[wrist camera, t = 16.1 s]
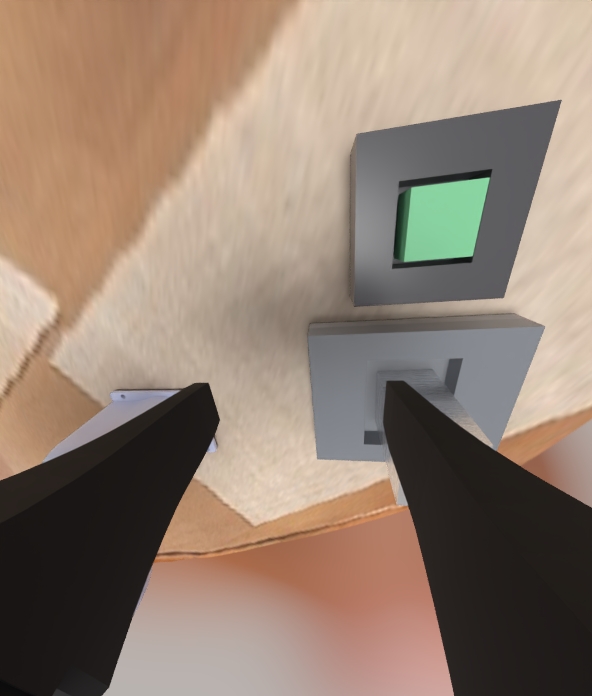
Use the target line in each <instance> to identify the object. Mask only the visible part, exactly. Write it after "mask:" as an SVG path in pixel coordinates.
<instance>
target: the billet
mask: <svg viewBox="0 0 592 696" xmlns="http://www.w3.org/2000/svg"><path fill="white" fill-rule="evenodd" d="M386 381H405V382H406V383H407V384H409V385H410V386H411V387H412V388H413V389H415V390H416V391H417V392H418V393H419V394H421V395H422V396H423V397H424V398H425V399H427V400H428V401H429V402H430V403H431V404H433V405H434V406H435V407H436V408H438V409H439V410H440V411H441V412H443V413H444V414H445V415H446V416H448V417H449V418H450V419H452V420H453V421H454V422H456V423H457V424H458V425H460V426H461V427H462V428H464V429H465V430H466V431H468V432H469V433H471V434H472V435H473V436H475V437H476V438H478V439H479V440H480V441H482V442H483V443H485V444H486V445H488V446H489V447H491V448H493V444H492V443H491V442H490V440H489V439H488V438H487V437H486V435H485V434H484V433H483V432H482V430H481V429H480V428H479V427H478V425H477V424H476V423H475V422H474V420H473V419H472V418H471V417H470V415H469V414H468V413H467V411H466V410H465V409H464V408H463V406H462V405H461V404H460V403H459V401H458V400H457V399H456V398H455V396H454V395H453V394H452V393H451V391H450V390H449V389H448V388H447V386H446V385H445V384H444V383H443V381H442V380H441V379H440V378H439V376H438V375H437V374H436V373H435V371H434V370H433V369H418V370H389V371H377V378H376V403H375V423H376V427H377V431H378V435H379V439H380V442H381V446H382V450H383V454H384V458H385V462H386V465H387V469H388V473H389V477H390V481H391V485H392V488H393V492H394V496H395V500H396V504H397V505H404V506H408V504H407V501H406V498H405V495H404V492H403V489H402V486H401V483H400V481H399V478H398V475H397V472H396V469H395V466H394V463H393V460H392V457H391V454H390V451H389V448H388V444H387V440H386V435H385V430H384V426H383V414H384V403H385V392H386Z"/></svg>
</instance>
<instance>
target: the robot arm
mask: <svg viewBox="0 0 592 696" xmlns="http://www.w3.org/2000/svg"><path fill="white" fill-rule="evenodd" d="M110 397H111V399H112V401H113V402H112V403H110V404H109V405H108V406H107V407H105V408H104V409H103V410H101V411H100V412H99V413H98V414H96V415H95V416H94V417H92V418H91V419H90V420H89V421H87V422H86V423H85V424H83V425H82V426H81V427H80V428H78V429H77V430H76V431H74V432H73V433H72V434H70V435H69V436H68V437H67V438H65V439H64V440H63V441H61V442H60V443H59V444H58V445H57V446H56V447H54V448H53V449H52V450H51V451H50V453H49V454H48V455H47V456H46V458H45V459H44V461H43V462H42V464H40V465H37V466H35V467H33V468H30V469H28V470H26V471H23V472H21V473H19V474H16V475H14V476H11V477H9V478H6V479H3V480H1V481H0V696H102V695H103V694H104V693H105V691H106V690H107V689H108V688H109V686H110V683H111V680H112V677H113V674H114V670H115V667H116V664H117V661H118V658H119V655H120V653H121V650H122V647H123V644H124V641H125V638H126V635H127V632H128V629H129V626H130V623H131V620H132V617H133V616H134V614H135V612H136V610H137V608H138V606H139V604H140V602H141V600H142V598H143V595H144V593H145V591H146V588H147V586H148V582H149V579H150V576H151V571H152V565H153V562H154V560H155V557H156V555H157V552H158V550H159V547H160V545H161V542H162V540H163V538H164V535H165V533H166V531H167V528H168V526H169V524H170V522H171V519H172V517H173V515H174V512H175V510H176V508H177V506H178V504H179V502H180V500H181V498H182V496H183V494H184V492H185V491H186V489H187V487H188V485H189V483H190V481H191V480H192V478H193V476H194V474H195V472H196V470H197V469H198V467H199V465H200V463H201V461H202V459H203V458H204V456H205V454H206V452H215V451H216V450H217V445H216V442H215V439H214V435H215V432H216V430H217V427H218V424H219V421H220V418H219V415H218V412H217V409H216V405H215V402H214V399H213V396H212V392H211V389H210V386H209V383H194V384H192V385H190V386H188V387H186V388H184V389H183V390H144V391H113V392H112V393H110ZM383 426H384V430H385V435H386V440H387V444H388V448H389V451H390V454H391V457H392V460H393V463H394V466H395V469H396V472H397V475H398V478H399V481H400V483H401V486H402V489H403V492H404V495H405V498H406V501H407V504H408V507H409V509H410V512H411V516H412V519H413V522H414V526H415V529H416V533H417V537H418V541H419V545H420V549H421V553H422V557H423V561H424V565H425V569H426V573H427V577H428V581H429V586H430V590H431V594H432V598H433V602H434V606H435V610H436V615H437V620H438V624H439V628H440V633H441V637H442V642H443V646H444V650H445V655H446V660H447V664H448V668H449V673H450V677H451V683H452V687H453V692H454V696H592V508H591V507H589V506H588V505H585V504H584V503H582V502H581V501H579V500H577V499H575V498H573V497H572V496H570V495H568V494H566V493H565V492H563V491H561V490H559V489H558V488H556V487H554V486H552V485H550V484H549V483H547V482H545V481H543V480H542V479H540V478H539V477H537V476H535V475H533V474H532V473H530V472H528V471H527V470H525V469H523V468H522V467H520V466H519V465H517V464H516V463H514V462H513V461H511V460H509V459H508V458H506V457H505V456H503V455H501V454H500V453H498V452H497V451H495V450H494V449H492V448H491V447H489V446H488V445H486V444H485V443H483V442H482V441H480V440H479V439H478V438H476V437H475V436H473V435H472V434H471V433H469V432H468V431H466V430H465V429H464V428H462V427H461V426H460V425H458V424H457V423H456V422H454V421H453V420H452V419H450V418H449V417H448V416H446V415H445V414H444V413H443V412H441V411H440V410H439V409H438V408H436V407H435V406H434V405H433V404H431V403H430V402H429V401H428V400H427V399H425V398H424V397H423V396H422V395H421V394H419V393H418V392H417V391H416V390H415V389H413V388H412V387H411V386H410V385H409V384H407V383H406V382H405V381H386V392H385V403H384V414H383Z"/></svg>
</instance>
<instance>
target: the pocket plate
mask: <svg viewBox="0 0 592 696" xmlns="http://www.w3.org/2000/svg"><path fill="white" fill-rule="evenodd" d="M544 329H545V326H543V325H541V324H538V323H536V322H533V321H531V320H529V319H526V318H524V317H521V316H519V315H517V314H495V315H474V316H454V317H434V318H413V319H393V320H373V321H352V322H332V323H312V324H310V326H309V331H308V349H309V362H310V374H311V387H312V400H313V412H314V425H315V438H316V450H317V459H325V460H351V461H377V462H385V458H384V454H383V450H382V446H381V442H380V439H379V435H378V431H377V427H376V423H375V403H376V378H377V371H389V370H418V369H433V370H434V371H435V373H436V374H437V375H438V376H439V378H440V379H441V380H442V381H443V383H444V384H445V385H446V386H447V388H448V389H449V390H450V391H451V393H452V394H453V395H454V396H455V398H456V399H457V400H458V401H459V403H460V404H461V405H462V406H463V408H464V409H465V410H466V411H467V413H468V414H469V415H470V417H471V418H472V419H473V420H474V422H475V423H476V424H477V425H478V427H479V428H480V429H481V430H482V432H483V433H484V434H485V435H486V437H487V438H488V439H489V440H490V442H491V443H492V444H493V448H492V449H494V450H495V451H497V448H498V446H499V443H500V441H501V438H502V436H503V433H504V431H505V428H506V426H507V423H508V420H509V418H510V415H511V413H512V410H513V408H514V405H515V403H516V400H517V397H518V395H519V392H520V390H521V387H522V385H523V382H524V380H525V377H526V374H527V372H528V369H529V367H530V364H531V362H532V359H533V357H534V354H535V352H536V349H537V346H538V344H539V341H540V339H541V336H542V334H543V331H544Z"/></svg>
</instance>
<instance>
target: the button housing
mask: <svg viewBox="0 0 592 696" xmlns="http://www.w3.org/2000/svg"><path fill="white" fill-rule="evenodd" d="M561 101H562V100H558V101H552V102H546V103H540V104H534V105H528V106H522V107H516V108H510V109H504V110H498V111H492V112H486V113H480V114H474V115H468V116H462V117H456V118H450V119H444V120H438V121H432V122H426V123H420V124H414V125H408V126H402V127H396V128H390V129H384V130H378V131H372V132H366V133H360V134H356V138H355V141H354V145H353V148H352V151H351V155H350V297H351V300H352V302H353V305H354V307H358V306H375V305H392V304H409V303H426V302H443V301H460V300H478V299H495V298H504V295H505V292H506V288H507V285H508V282H509V278H510V275H511V271H512V268H513V264H514V261H515V258H516V254H517V251H518V247H519V244H520V241H521V237H522V234H523V230H524V227H525V224H526V220H527V217H528V213H529V210H530V206H531V203H532V200H533V196H534V193H535V189H536V186H537V183H538V179H539V176H540V172H541V169H542V166H543V162H544V159H545V155H546V152H547V148H548V145H549V142H550V138H551V135H552V131H553V128H554V125H555V121H556V118H557V114H558V111H559V108H560V104H561ZM489 177H490V179H489V184H488V189H487V193H486V198H485V202H484V207H483V211H482V216H481V221H480V225H479V230H478V234H477V239H476V243H475V248H474V253H473V256H470V257H458V258H446V259H434V260H422V261H410V262H403V261H400V260H397V259H394V252H395V240H396V228H397V215H398V203H399V194H401V193H403V192H405V191H406V190H408V189H410V188H412V187H419V186H427V185H435V184H442V183H450V182H458V181H466V180H474V179H481V178H489Z"/></svg>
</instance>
